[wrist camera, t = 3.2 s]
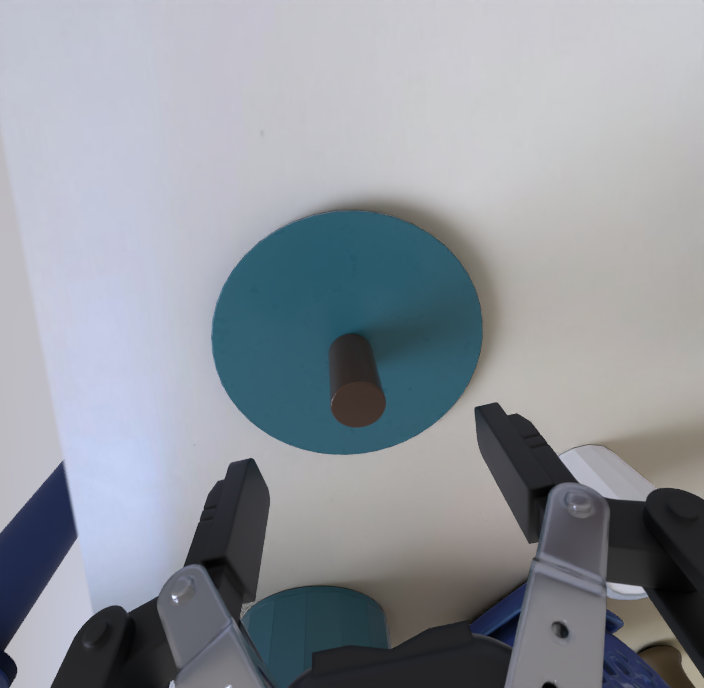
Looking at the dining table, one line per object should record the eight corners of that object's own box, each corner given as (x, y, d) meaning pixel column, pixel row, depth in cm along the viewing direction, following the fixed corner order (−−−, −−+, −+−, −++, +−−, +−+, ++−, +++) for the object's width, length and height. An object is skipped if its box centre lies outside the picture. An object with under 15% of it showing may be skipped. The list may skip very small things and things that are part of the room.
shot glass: (620, 424, 25) (718, 511, 19) (629, 486, 28) (717, 579, 22) (524, 460, 26) (587, 555, 20) (542, 517, 29) (603, 615, 23)
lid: (268, 464, 24) (253, 547, 19) (169, 250, 18) (105, 287, 12) (483, 414, 24) (529, 485, 19) (463, 174, 17) (526, 180, 12)
